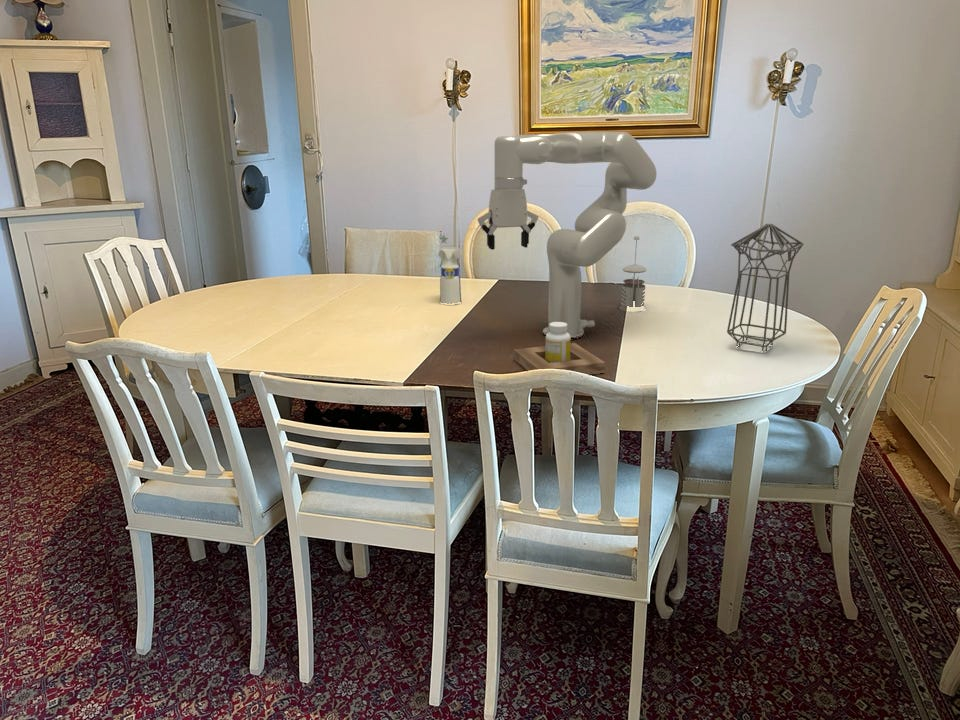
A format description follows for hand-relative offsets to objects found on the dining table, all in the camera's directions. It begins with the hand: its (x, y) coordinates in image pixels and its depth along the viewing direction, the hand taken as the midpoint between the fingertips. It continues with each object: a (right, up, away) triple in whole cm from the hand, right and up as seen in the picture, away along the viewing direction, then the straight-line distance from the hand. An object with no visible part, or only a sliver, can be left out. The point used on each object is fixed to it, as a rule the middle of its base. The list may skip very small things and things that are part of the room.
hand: (508, 247), depth 199 cm
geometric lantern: (+70, -28, +5) cm, 76 cm away
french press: (+45, -14, +48) cm, 67 cm away
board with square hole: (+13, -33, -9) cm, 36 cm away
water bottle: (-18, -11, +58) cm, 62 cm away
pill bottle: (+13, -33, -9) cm, 36 cm away
